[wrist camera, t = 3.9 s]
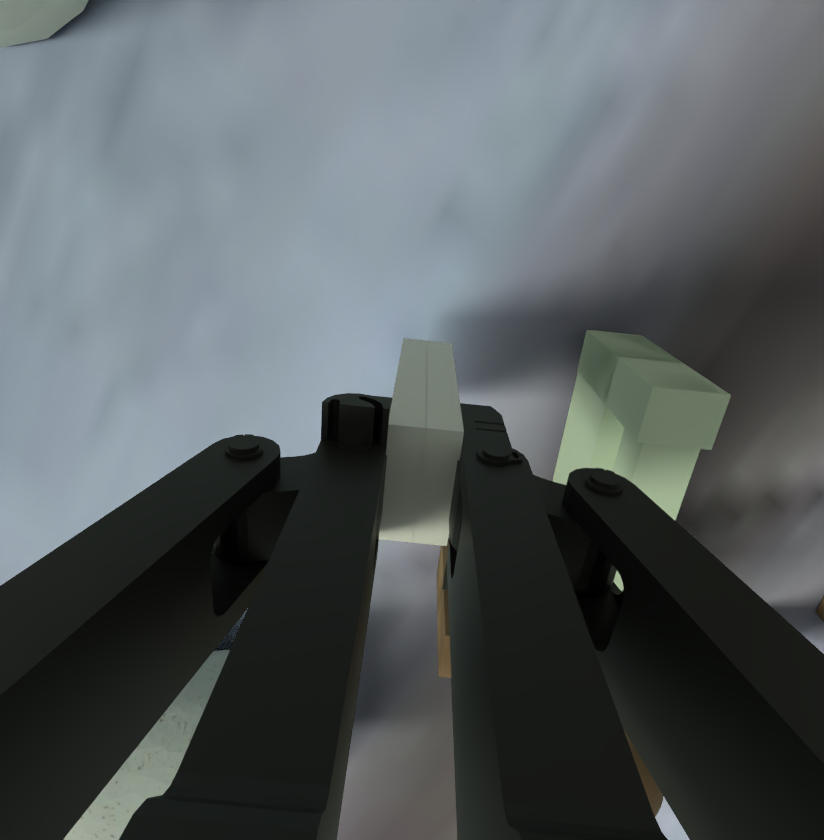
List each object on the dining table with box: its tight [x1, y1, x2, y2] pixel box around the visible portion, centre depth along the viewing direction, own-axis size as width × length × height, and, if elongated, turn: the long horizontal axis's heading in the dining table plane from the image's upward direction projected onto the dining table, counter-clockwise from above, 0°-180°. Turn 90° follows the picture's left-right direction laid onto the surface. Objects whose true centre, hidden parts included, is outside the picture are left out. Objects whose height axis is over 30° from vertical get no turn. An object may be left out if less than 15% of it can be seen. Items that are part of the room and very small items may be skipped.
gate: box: [553, 330, 731, 591], centre depth 16 cm, size 8×2×6 cm, turn 174°
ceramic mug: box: [63, 650, 230, 840], centre depth 22 cm, size 11×8×8 cm
